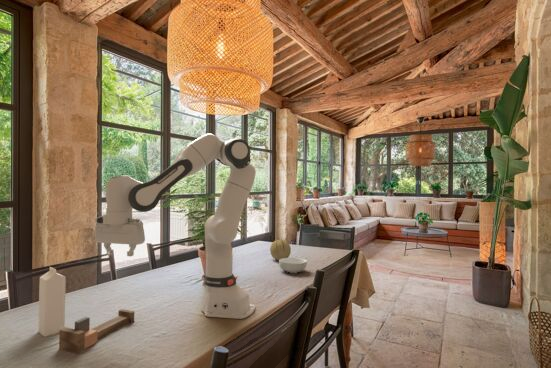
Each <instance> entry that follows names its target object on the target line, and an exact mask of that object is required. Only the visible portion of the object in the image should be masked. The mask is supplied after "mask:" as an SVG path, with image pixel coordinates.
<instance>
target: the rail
mask: <svg viewBox="0 0 551 368" xmlns="http://www.w3.org/2000/svg"><path fill="white" fill-rule="evenodd" d="M117 314H118V315H117V316H115V317H114V318H112V319H109V320H107V321H105V322H103V323H101V324H99V325H97V326H95V327H93V328H90V329H91V330H96V331H97V341H98V340H101V339H102V338H104V337H106V336H108V335H109V334H111V333H113V332H115V331H117V330H119V329H121V328H122V327H125V326H126V325H128V324H133V323H135V311H134V310H128V309H123V308H121V309H119V310H118V313H117ZM58 334H59V339H58V340H59V341H58V350H60V351H63V352H64V351H65V352H69V353H74V354H78V355H80V354H82V353H83V352H85V349H84V347H85V331H81V330H76V329H75V328H71V327H67V326H65V328H63V329H61V330H60V332H58Z"/></svg>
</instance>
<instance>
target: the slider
mask: <svg viewBox="0 0 551 368" xmlns="http://www.w3.org/2000/svg"><path fill="white" fill-rule="evenodd" d="M90 318H91V317H88V316H85V317H82V318H80V319H77V320H76V321H74V329H76V330H81V331H85V347H84V350H85V349H87V348H89V347H90V346H92V345H95V344H97V343H98V340H97V331H96V330H91V329H92V328H90V325H91V323H90V322H91V321H90V320H91V319H90Z"/></svg>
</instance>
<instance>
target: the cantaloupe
mask: <svg viewBox="0 0 551 368" xmlns="http://www.w3.org/2000/svg"><path fill="white" fill-rule="evenodd" d="M291 250H292V249H291V245H290V243H289V242H288V241H287V240H285V239H280V238H277V239H275V240H274V241H273V242H272V243H271V245H270V248H269V251H270V255H271V257H272V258H273V260H274V259H275V260H276V261H279V260H280V259H282V258H290V256H291Z"/></svg>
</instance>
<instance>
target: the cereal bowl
mask: <svg viewBox="0 0 551 368" xmlns="http://www.w3.org/2000/svg"><path fill="white" fill-rule="evenodd" d="M307 262H308V260H307V259H304V258H300V257H288V258H282V259H280V260H278V263H279V267H280V269H281V270H283V271H285V272H286V271H287V272H286V273H288V272H290V273H289V274H298V273H297V272H299V273H300V272H302V271H304V270H305V269H306V267H307V264H308V263H307Z"/></svg>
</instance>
